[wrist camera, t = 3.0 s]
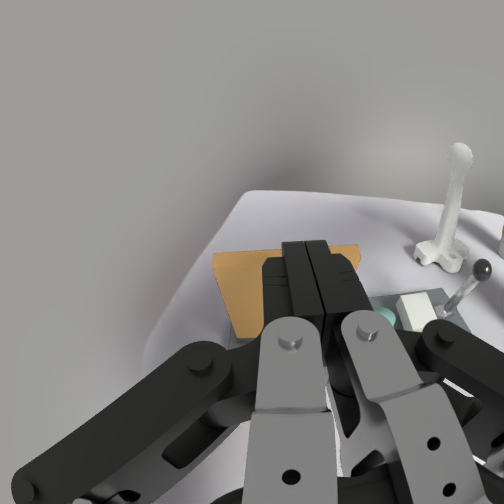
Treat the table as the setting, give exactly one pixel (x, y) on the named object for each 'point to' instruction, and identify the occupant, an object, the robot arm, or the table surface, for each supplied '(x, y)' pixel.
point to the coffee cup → (501, 245)
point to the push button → (386, 314)
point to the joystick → (449, 217)
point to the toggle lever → (465, 289)
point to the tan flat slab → (253, 285)
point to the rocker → (415, 311)
